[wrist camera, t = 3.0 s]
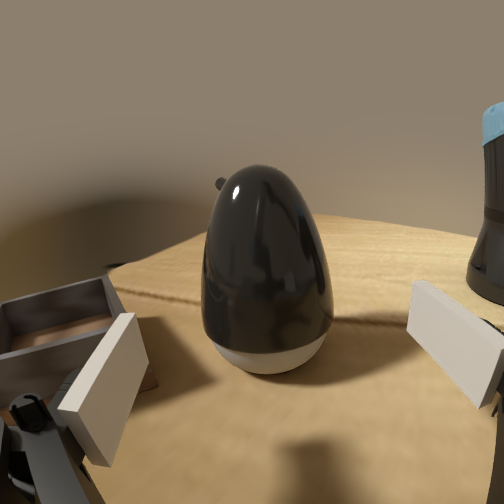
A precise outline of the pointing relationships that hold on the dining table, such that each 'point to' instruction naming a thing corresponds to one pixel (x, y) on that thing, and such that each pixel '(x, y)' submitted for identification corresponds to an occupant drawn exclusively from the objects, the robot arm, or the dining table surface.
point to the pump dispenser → (264, 274)
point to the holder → (54, 338)
